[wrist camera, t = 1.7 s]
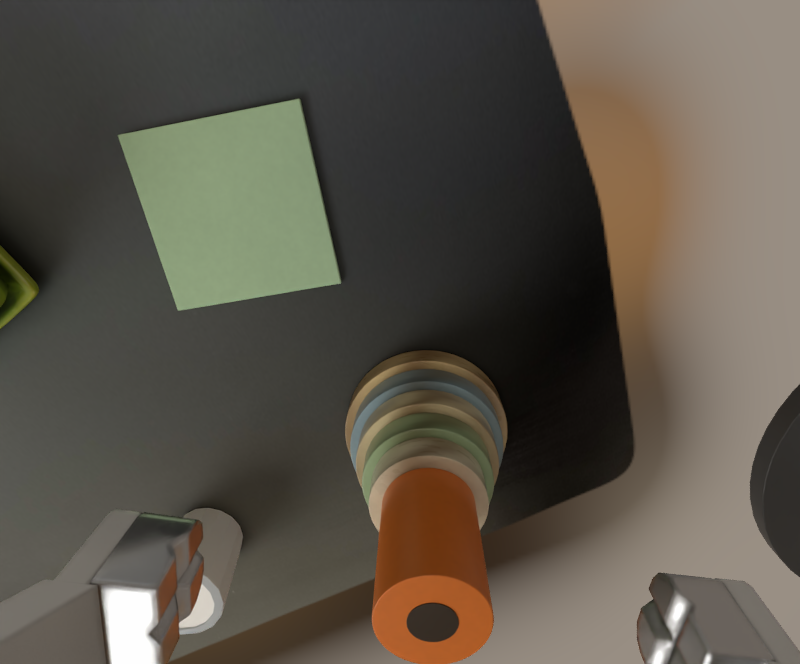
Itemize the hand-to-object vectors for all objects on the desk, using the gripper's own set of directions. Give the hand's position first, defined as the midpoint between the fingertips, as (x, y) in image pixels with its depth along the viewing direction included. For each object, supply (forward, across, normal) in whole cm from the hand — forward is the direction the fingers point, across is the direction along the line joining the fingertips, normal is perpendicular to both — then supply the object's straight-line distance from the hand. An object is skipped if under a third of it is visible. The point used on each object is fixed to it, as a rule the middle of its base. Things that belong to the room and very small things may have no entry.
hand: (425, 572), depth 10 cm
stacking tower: (+29, -2, +14) cm, 32 cm away
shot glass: (+29, +15, +27) cm, 42 cm away
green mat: (+29, +13, -1) cm, 31 cm away
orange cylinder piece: (+19, -2, +14) cm, 23 cm away
